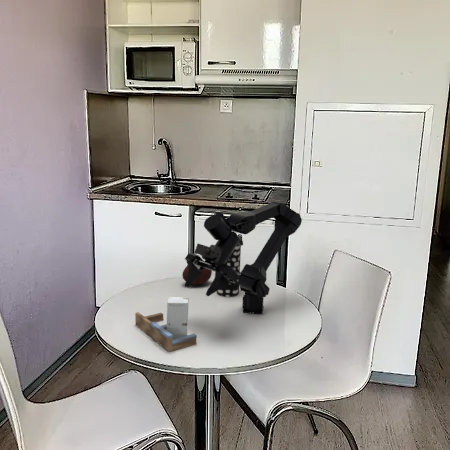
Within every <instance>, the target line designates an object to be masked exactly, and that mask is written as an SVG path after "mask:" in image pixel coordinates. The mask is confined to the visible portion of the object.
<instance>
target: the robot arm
mask: <svg viewBox="0 0 450 450" xmlns="http://www.w3.org/2000/svg"><path fill="white" fill-rule="evenodd" d="M270 219H274V221H273V223H274V225H273V226H274V229H273V232H272V233H271V235H270V237H269V238H268V239H267V241H266V243H265V244H264V246H263V247H262V249H261V251H260V252H259V253H258V255H257V257H256V259H255V261H253V263H252V264H248V263H246V264H245V265H244V266H243V268H242V269H241V270H240V276H239V274H238V273H237V272H236V271H235V270H234V269H233V268H232V266H229V265H226V264H225V263H226V262H227V260H230V261H231V259H232V258H231V256H230V255H231V254H232V252H233V251H234V249H235V247H236V246H237V244H238V245H241V247H243V245H244V241H243V237H242V236H240V235H239V234H242V235H249V234H250V233H251V232H252V231H254V230H255V229H256V226H257V225H259V224H261V223H264V222H266V221H267V220H268V221H269V220H270ZM302 221H303V218H302V216H301V214H300V213H298V212H296V211H295V210H294V209H291V207H288V206H287V205H286V204H285V203H284V202H281V201H276V200H273V201H270V203H267V204H266V205H263V206H260V207H258V208H256V209H253V210H250V211H242V212H241V211H239V212H233V213H230V215H228V217H225V215H224V213H223V212H221V211H216V212H215V214H212V215H210V216H208V217H207V218H206V219H205V221H204V223H203V228H205V230H206V231H207V232H208V233H209V234H210V236H212V238H213V239H214V240H215V241H216V242H215V244H211V245H210V246H207V245H204V244H201V243H197V244H196V247H195V250H194V252H190V253H187V255H186V256H185V258H184V260H185V261H186V264H187V265H188V266H189V271H188V276H187V280H186V281H185V284H184V285H185V287H186V288H189V287H190V286H191V285H193V284H192V283H193V282H194V281H195V280H196V279H197V278H198V277H199V276H200V275H201V274H202V272H201V271H202V270H204V268H206V269H209V270H212V272H215V273H214V279H213V280H212V282H210V283H211V284H210V285H209V287H208V288H207V290H206V293H205V295H206V297H209V296H211V295H213V294H214V293H217V291H218V290H219V289H221V288H223V287H225V286H227V285H229V284H230V285H231V284H232V283H236V282H237V280H238V282H239V291H240V292H244V294H243V296H242V307H241V308H242V310H243V311H242V312H243V313H247V314H254V315H255V314H257V315H259V314H260V315H263V312H264V308H265V306H264V299H265V298H266V297H267V296H268V295H269V294H270V287H269V286H268V285H267V284H266V282H267V270H269V267H270V266H271V265H272V263H273V261H274V259H275V257H276V256H277V254H278V253H279V251H280V249H281V247H282V246H283V244H284V242H285V241H286V239H287V238H288V237H290V236H291V235H293V234H295V233H296V232H297V230H299V228H300V227H301V225H302V223H303V222H302ZM237 233H238V234H237ZM209 266H210V267H209ZM231 282H232V283H231Z"/></svg>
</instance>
